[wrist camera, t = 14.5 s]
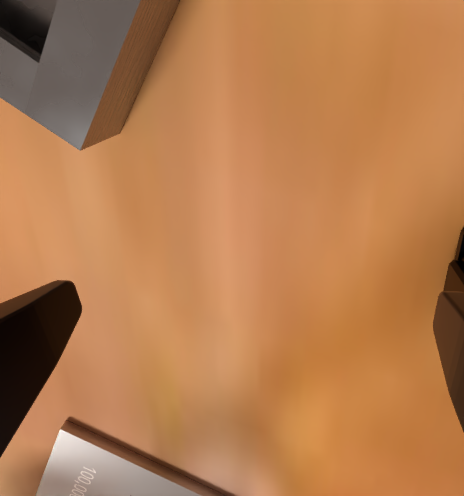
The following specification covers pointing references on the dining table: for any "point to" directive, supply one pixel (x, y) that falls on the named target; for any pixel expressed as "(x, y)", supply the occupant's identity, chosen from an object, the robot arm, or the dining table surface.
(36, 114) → the keyhole plate
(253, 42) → the dining table surface
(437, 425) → the dining table surface
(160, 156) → the dining table surface
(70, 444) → the play button award
